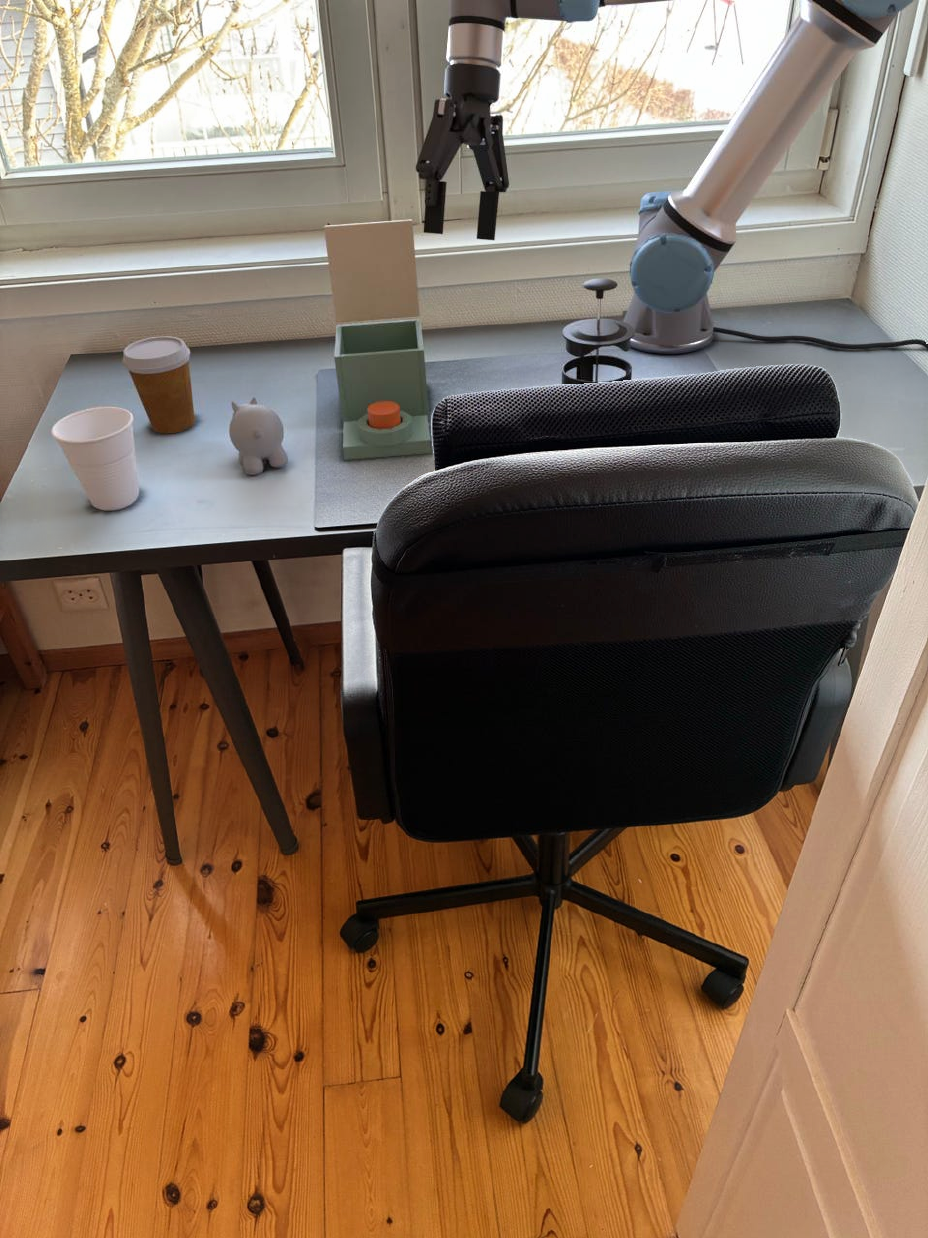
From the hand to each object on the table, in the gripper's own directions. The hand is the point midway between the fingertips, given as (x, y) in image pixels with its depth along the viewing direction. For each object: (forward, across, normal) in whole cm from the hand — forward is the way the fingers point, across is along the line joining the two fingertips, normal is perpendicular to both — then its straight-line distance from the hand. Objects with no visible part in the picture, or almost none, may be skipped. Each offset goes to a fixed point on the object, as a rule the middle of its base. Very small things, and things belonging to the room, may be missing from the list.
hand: (460, 236), depth 134 cm
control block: (+28, +14, 0) cm, 31 cm away
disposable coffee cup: (+30, +24, -33) cm, 51 cm away
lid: (+6, +5, -11) cm, 14 cm away
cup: (+36, +43, -23) cm, 61 cm away
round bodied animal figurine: (+31, +26, -14) cm, 43 cm away
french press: (+26, +3, +26) cm, 37 cm away
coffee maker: (+25, +5, -8) cm, 26 cm away
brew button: (+25, +16, 0) cm, 30 cm away
